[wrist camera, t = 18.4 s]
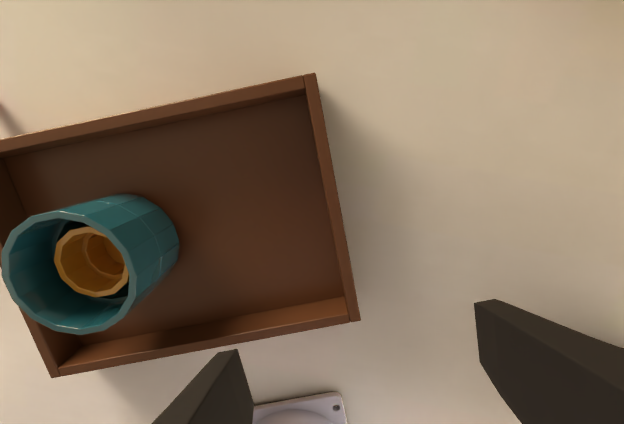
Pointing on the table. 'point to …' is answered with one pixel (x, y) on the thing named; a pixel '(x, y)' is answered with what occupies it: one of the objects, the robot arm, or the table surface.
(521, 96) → the table surface
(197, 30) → the table surface
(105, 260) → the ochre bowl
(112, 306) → the teal hollow cylinder
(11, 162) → the tray
